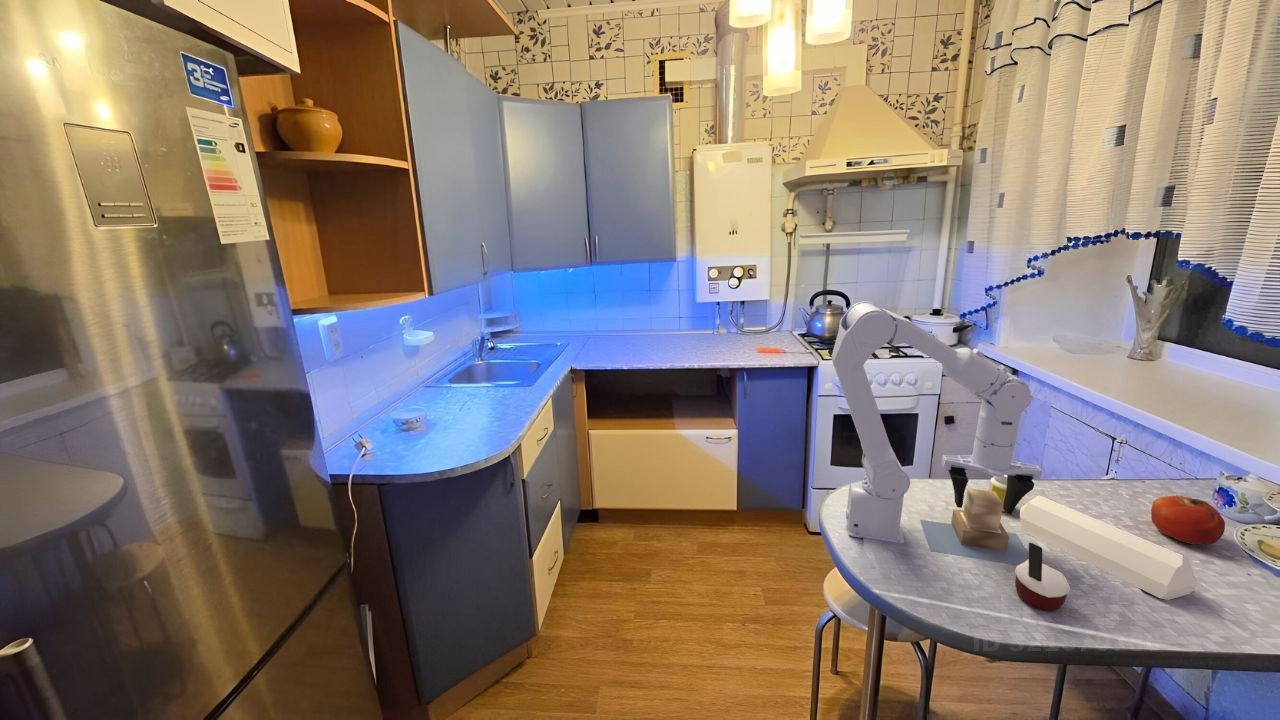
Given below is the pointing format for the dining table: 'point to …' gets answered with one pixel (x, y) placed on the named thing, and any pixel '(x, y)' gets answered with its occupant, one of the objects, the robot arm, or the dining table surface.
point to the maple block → (983, 509)
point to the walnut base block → (978, 534)
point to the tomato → (1187, 519)
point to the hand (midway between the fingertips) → (982, 508)
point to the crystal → (1109, 548)
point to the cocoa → (1040, 582)
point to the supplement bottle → (999, 488)
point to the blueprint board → (947, 542)
